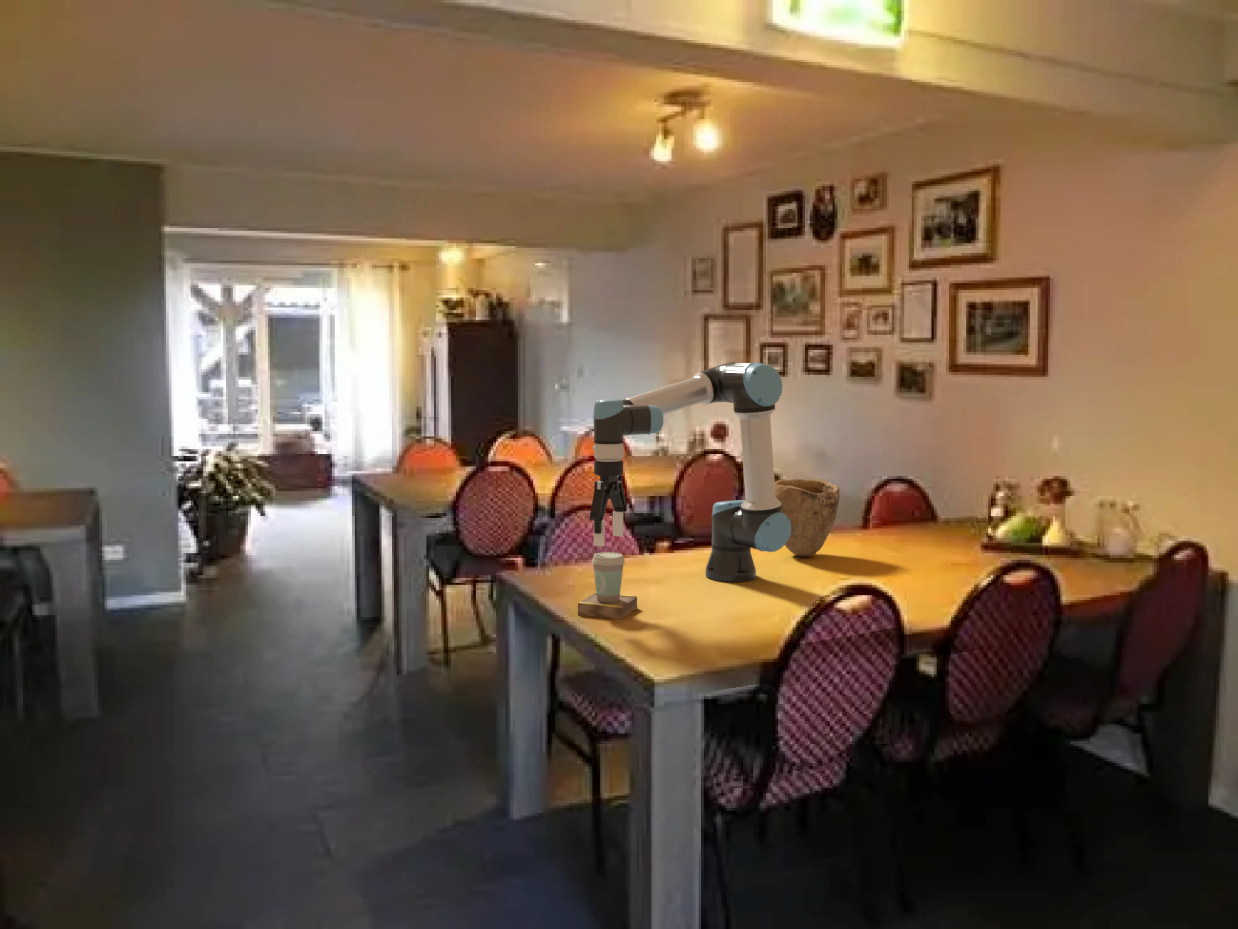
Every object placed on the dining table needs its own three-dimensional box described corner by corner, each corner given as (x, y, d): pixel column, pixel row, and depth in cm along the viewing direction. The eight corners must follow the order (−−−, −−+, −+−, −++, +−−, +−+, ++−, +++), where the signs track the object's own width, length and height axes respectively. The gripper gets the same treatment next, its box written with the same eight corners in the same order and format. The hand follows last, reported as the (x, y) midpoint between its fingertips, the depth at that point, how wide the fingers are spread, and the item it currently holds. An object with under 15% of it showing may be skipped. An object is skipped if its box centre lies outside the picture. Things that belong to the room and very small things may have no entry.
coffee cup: (590, 596, 266) (591, 551, 265) (622, 595, 267) (623, 551, 265) (592, 604, 258) (592, 558, 256) (625, 604, 258) (626, 558, 257)
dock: (637, 608, 266) (637, 596, 266) (621, 619, 255) (621, 607, 254) (595, 603, 270) (595, 591, 270) (577, 614, 259) (577, 602, 259)
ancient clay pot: (805, 567, 317) (808, 488, 314) (754, 555, 334) (755, 480, 331) (851, 558, 331) (853, 482, 328) (799, 547, 348) (801, 475, 345)
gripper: (612, 453, 271) (612, 531, 273) (576, 464, 247) (576, 549, 250) (638, 454, 268) (638, 533, 271) (604, 465, 245) (604, 551, 247)
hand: (608, 541), depth 260 cm, fingers open, 13 cm apart
